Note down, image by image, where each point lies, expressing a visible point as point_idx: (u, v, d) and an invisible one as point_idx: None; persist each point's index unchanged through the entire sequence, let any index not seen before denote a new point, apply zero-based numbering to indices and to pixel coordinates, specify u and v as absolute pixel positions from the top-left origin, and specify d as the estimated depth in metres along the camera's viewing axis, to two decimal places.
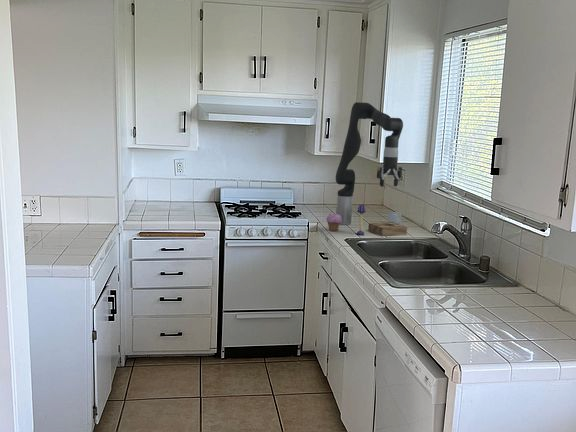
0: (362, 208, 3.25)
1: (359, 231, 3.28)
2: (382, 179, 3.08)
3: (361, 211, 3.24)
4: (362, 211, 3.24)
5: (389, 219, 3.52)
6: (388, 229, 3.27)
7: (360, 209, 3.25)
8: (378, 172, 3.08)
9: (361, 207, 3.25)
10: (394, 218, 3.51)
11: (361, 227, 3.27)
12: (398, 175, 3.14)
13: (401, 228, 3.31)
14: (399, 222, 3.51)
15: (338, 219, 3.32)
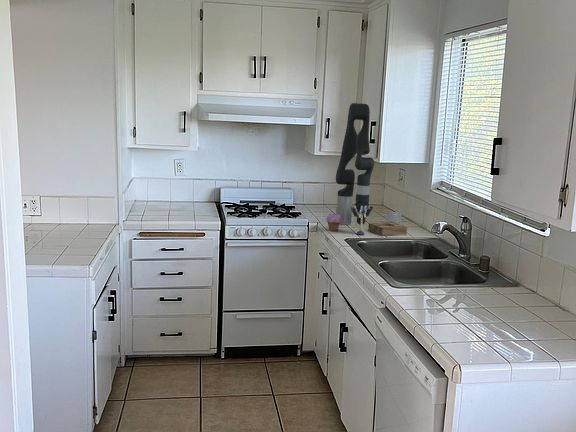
0: (362, 208, 3.25)
1: (359, 231, 3.28)
2: (359, 217, 3.25)
3: (361, 211, 3.24)
4: (362, 211, 3.24)
5: (389, 219, 3.52)
6: (388, 229, 3.27)
7: None
8: (353, 212, 3.24)
9: None
10: (394, 218, 3.51)
11: (361, 227, 3.27)
12: (366, 213, 3.29)
13: (401, 228, 3.31)
14: (399, 222, 3.51)
15: (338, 219, 3.32)
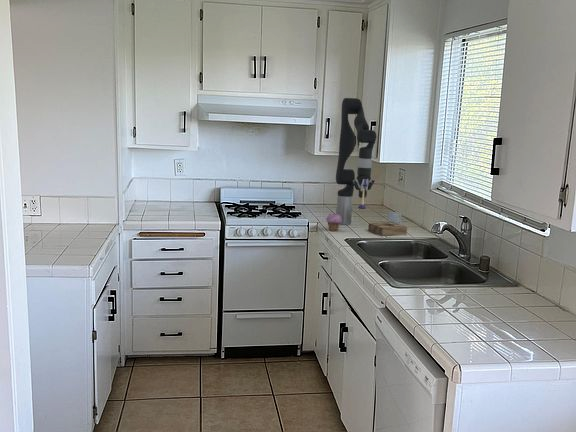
0: (364, 181, 3.22)
1: (361, 205, 3.25)
2: (361, 191, 3.23)
3: (363, 184, 3.22)
4: (364, 185, 3.22)
5: (389, 219, 3.52)
6: (388, 229, 3.27)
7: None
8: (355, 185, 3.22)
9: None
10: (394, 218, 3.51)
11: (363, 201, 3.24)
12: (368, 187, 3.26)
13: (401, 228, 3.31)
14: (399, 222, 3.51)
15: (338, 219, 3.32)
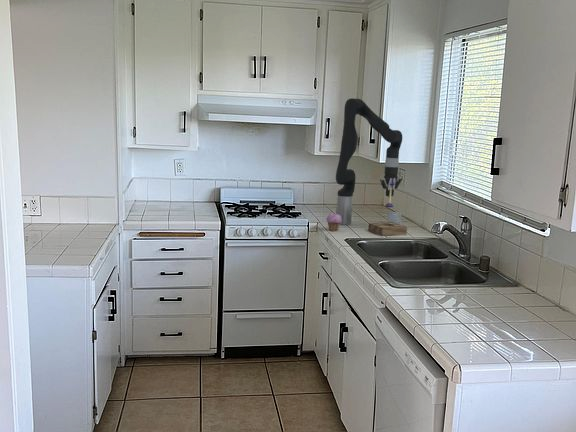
0: None
1: (388, 203, 3.32)
2: (388, 190, 3.30)
3: (390, 183, 3.29)
4: (392, 184, 3.29)
5: (389, 219, 3.52)
6: (388, 229, 3.27)
7: None
8: (382, 184, 3.29)
9: None
10: (394, 218, 3.51)
11: (390, 199, 3.32)
12: (394, 186, 3.34)
13: (401, 228, 3.31)
14: (399, 222, 3.51)
15: (338, 219, 3.32)
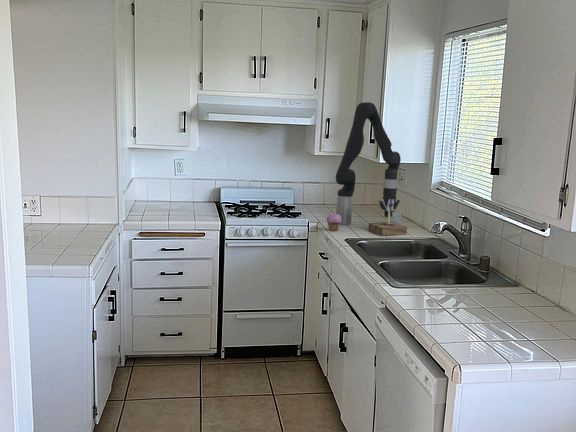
0: (390, 201, 3.31)
1: (387, 224, 3.35)
2: (387, 210, 3.32)
3: (389, 204, 3.31)
4: (390, 205, 3.31)
5: None
6: (388, 229, 3.27)
7: None
8: (381, 205, 3.31)
9: None
10: (394, 218, 3.51)
11: (389, 220, 3.34)
12: None
13: (401, 228, 3.31)
14: (399, 222, 3.51)
15: (338, 219, 3.32)
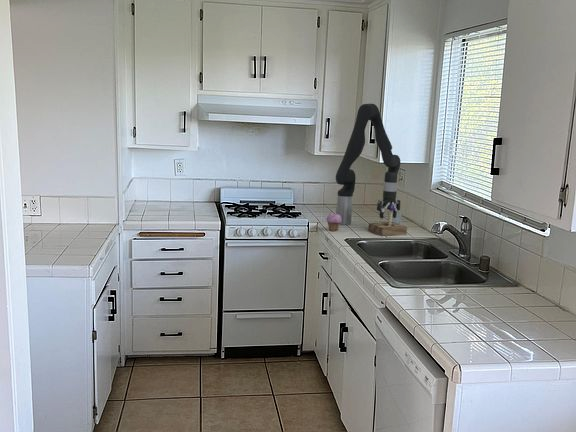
0: (392, 205, 3.33)
1: None
2: (382, 212, 3.31)
3: (391, 208, 3.33)
4: (392, 208, 3.32)
5: None
6: (388, 229, 3.27)
7: (390, 206, 3.33)
8: (378, 205, 3.31)
9: (391, 204, 3.33)
10: (394, 218, 3.51)
11: (390, 224, 3.35)
12: (397, 207, 3.37)
13: (401, 228, 3.31)
14: (399, 222, 3.51)
15: (338, 219, 3.32)
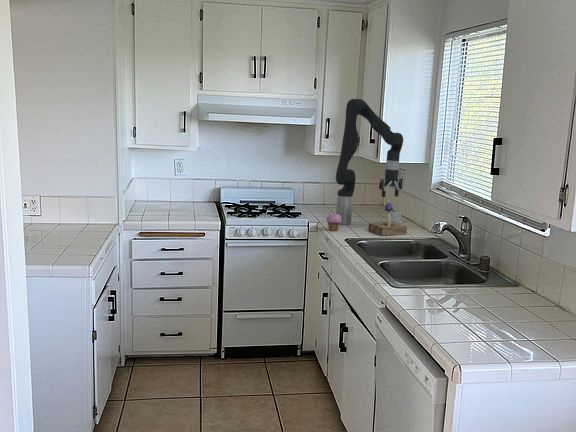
0: (389, 206, 3.34)
1: None
2: (384, 190, 3.29)
3: (388, 209, 3.34)
4: (390, 209, 3.33)
5: None
6: (388, 229, 3.27)
7: (387, 207, 3.34)
8: (380, 184, 3.28)
9: (388, 205, 3.34)
10: (394, 218, 3.51)
11: (389, 225, 3.36)
12: (399, 186, 3.35)
13: (401, 228, 3.31)
14: (399, 222, 3.51)
15: (338, 219, 3.32)
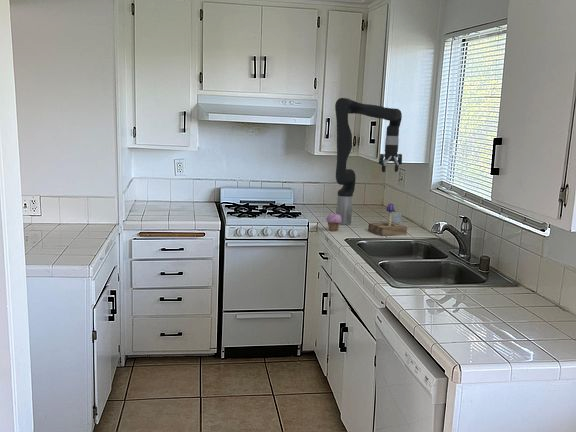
0: (391, 207, 3.33)
1: None
2: (384, 165, 3.35)
3: (390, 210, 3.33)
4: (391, 210, 3.32)
5: None
6: (388, 229, 3.27)
7: (389, 208, 3.33)
8: (380, 159, 3.34)
9: (390, 206, 3.33)
10: (394, 218, 3.51)
11: (390, 225, 3.35)
12: (398, 162, 3.41)
13: (401, 228, 3.31)
14: (399, 222, 3.51)
15: (338, 219, 3.32)
